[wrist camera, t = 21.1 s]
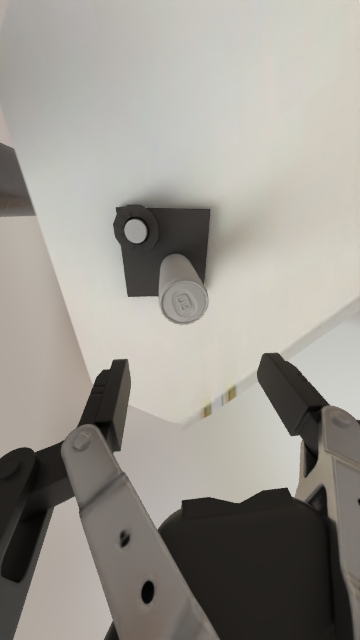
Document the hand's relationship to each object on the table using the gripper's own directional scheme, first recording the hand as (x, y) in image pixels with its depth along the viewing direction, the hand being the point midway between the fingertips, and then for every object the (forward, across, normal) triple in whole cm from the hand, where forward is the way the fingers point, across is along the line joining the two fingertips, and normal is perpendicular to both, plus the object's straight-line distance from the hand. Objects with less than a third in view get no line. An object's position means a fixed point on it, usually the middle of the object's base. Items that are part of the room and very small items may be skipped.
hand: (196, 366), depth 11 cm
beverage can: (+20, 0, -1) cm, 20 cm away
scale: (+21, +1, -2) cm, 21 cm away
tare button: (+18, +5, -6) cm, 20 cm away
